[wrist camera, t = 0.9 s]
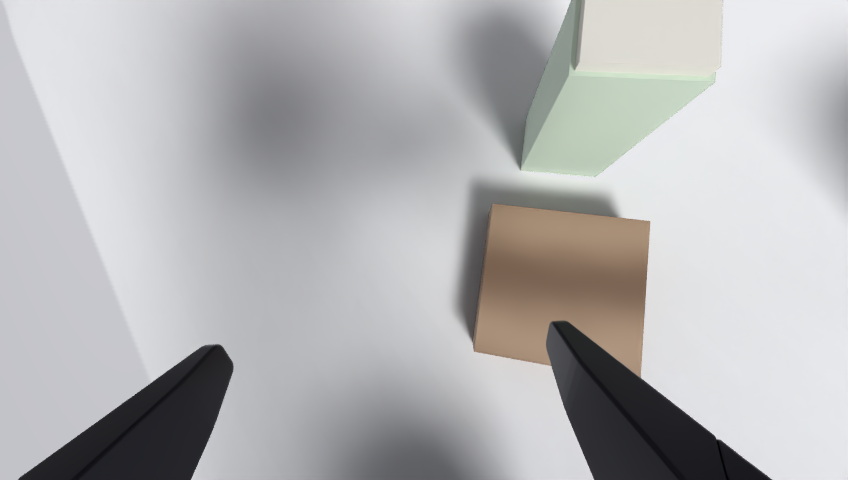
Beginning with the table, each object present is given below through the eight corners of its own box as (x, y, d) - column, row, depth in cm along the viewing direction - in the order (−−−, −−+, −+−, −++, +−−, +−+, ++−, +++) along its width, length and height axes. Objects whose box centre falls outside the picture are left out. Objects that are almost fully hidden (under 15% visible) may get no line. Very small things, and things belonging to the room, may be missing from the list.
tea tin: (595, 177, 21) (727, 72, 10) (520, 170, 21) (573, 66, 11) (599, 122, 21) (730, -31, 11) (526, 118, 22) (582, -30, 11)
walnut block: (612, 366, 19) (640, 382, 16) (472, 341, 21) (474, 351, 18) (622, 229, 20) (650, 221, 17) (488, 214, 22) (492, 203, 19)
